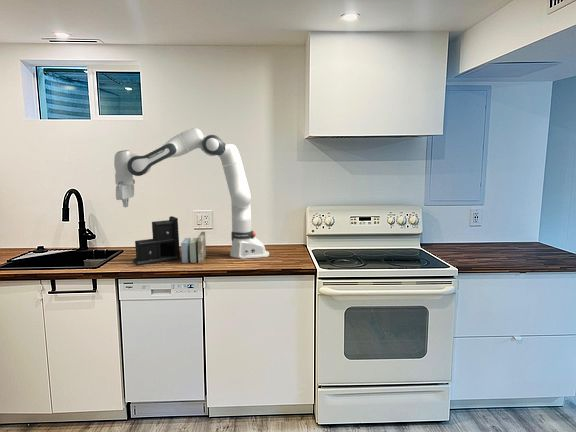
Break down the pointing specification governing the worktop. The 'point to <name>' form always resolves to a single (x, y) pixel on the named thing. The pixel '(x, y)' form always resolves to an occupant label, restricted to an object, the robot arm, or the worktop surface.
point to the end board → (201, 247)
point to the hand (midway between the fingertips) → (125, 207)
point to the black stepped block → (159, 244)
